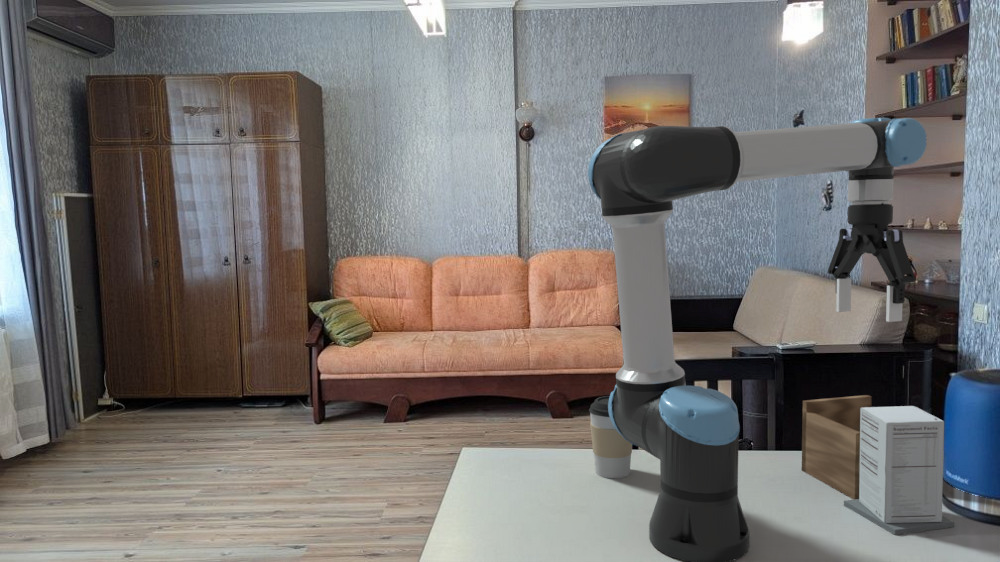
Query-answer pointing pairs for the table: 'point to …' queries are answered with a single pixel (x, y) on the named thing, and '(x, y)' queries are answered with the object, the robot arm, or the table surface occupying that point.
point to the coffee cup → (608, 443)
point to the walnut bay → (833, 441)
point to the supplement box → (901, 464)
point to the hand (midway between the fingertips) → (867, 316)
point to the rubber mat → (896, 527)
